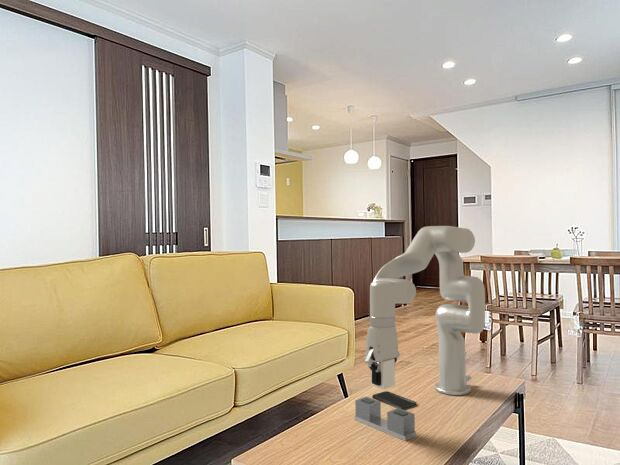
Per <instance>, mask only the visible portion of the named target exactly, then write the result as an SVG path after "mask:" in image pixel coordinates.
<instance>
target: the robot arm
mask: <svg viewBox="0 0 620 465" xmlns="http://www.w3.org/2000/svg"><path fill="white" fill-rule="evenodd" d="M475 238H476V237H475V234H474V233H473V231H471V230H470V229H468V228H467V227H466V228H464V227H458V226H452V225H430V226H429V225H428V226H423V227H421V228H420V229H419V230H418V231H417V233H416V234H415V236H414V237H413V239H412V241H411V242H410V243H409V245H408V247H407V248H406V250H405V251H404V252H403V253H402V254H400V255H398V256H396V257H395V258H393V259H392V260H390V261H388V262H387V263H385V264H383V266H382V267H380V269H379V270H378V272H377V273H376V275H375V277H374V278H373V279H372V282H370V285H369V327H368V328H367V332H366V338H365V341H366V342H365V360H364V363H365V365H366V366H368V368H369V370H370V372H371V371H372V384H375V385H378V386H380V385H381V372H379V371H380V365H381V362H382V361H385V360H389V359H395V364H396V363H397V362H398V359H399V357H400V356H401V355H400V351H399V344H398V343H399V342H398V331H397V327H396V304H408V303H410V302H412V301H413V300H414V299H415V297H416V295H417V289H416V286H415V284H414V283H413V282H412V281H411V280H409V279H405V278H403V279H402V277H405V276H409V275H413V274H416V273H419V272H421V271H423V270H425V269H426V268H427V267H428V266H429V264H430V261H431V260H432V258H433V257H434V255H435V257H436V258H437V260H438V264H439V267H438V268H439V293H440V294H439V295H440V296H441V298H442V299H444V300H446V301H451V302H459V303H466V304H467V305H461V304H454V303H453V304H452V303H444V304H441V305H439V306H437V307H438V308H436V311H435V322H436V327H437V334H438V382H437V383H435V384H434V389H435V390H436V392H439V393H441V394H445V395H448V396H449V395H452V396H464V395H467V394H470V392H471V387H470V386H469V385H468V384H467V382H468V381H471V380H472V376H471V375H470V374H468V375H467V374H466V372H467V371H466V370H467V369H466V366H467V365H466V364H467V360H466V340H465V338H464V336H463V335H462V333H467V334H480V333H482V332H483V331H484V329H485V323H486V289H485V284H484V283H483V280H482V279H481V278H479V277H477V276H475V275H464V262H463V258H462V257H461V255H460V253H462V254H463V253H465V254H466V253H469V252H471V251H472V250H473V249H474V247H475V243H476V239H475ZM371 360H372V361H371ZM375 363H377V365H376V366H375Z"/></svg>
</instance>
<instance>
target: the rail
mask: <svg viewBox="0 0 620 465" xmlns="http://www.w3.org/2000/svg"><path fill="white" fill-rule="evenodd" d="M381 403H382V402H381V401H378V400H376V399H373V398H372V397H369V396H364V397H361V398H359V399H355V404H354V405H355V415H354V420H355V421H357V422H360V423H362V424H364V425H366V426H368V427H371V428H373V429H376V430H378V431H381V432H384V433H385V434H388V435H390V436H391V437H394V438H397V439H400V440H402V441H404V442H406V441H408V440H411V439H413V438H414V437H416V436H417V431H416V421H415V420H416V417H415V412H414V413H413V412H411V411H408V410H406V409H405V410H402V409H400V408H395V409H392V410H390V411H388V412H386V413H387V414H386V418H387V419H385V418H383V417H382V415H381V414H382V408H381Z"/></svg>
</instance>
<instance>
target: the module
mask: <svg viewBox="0 0 620 465" xmlns="http://www.w3.org/2000/svg"><path fill="white" fill-rule="evenodd" d="M371 361H372V360H371ZM376 365H377V363H375V366H376ZM395 370H396V363H395V359H389V360H385V361H382V362H381V365H380V371H379V372H381V385H380V386H378V385H375V384H372V371H371V370H370V383H371V384H370V385H371V386H373V387H376V388H379V389H381V390H385V389H389V388H392V387H393V388H394V387H395V385H396V384H395V383H396V382H395V381H396V379H395V377H396V371H395Z"/></svg>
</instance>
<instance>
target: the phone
mask: <svg viewBox="0 0 620 465" xmlns="http://www.w3.org/2000/svg"><path fill="white" fill-rule="evenodd" d="M371 398H372V399H375V400H377V401H380V402H381V403H383V404H385V405H389V407H393V408H395V409H397V408H400V409H402V410H405V411H406V410H408V409H411V408H414V407H416V406H418V403H417V401H414V400H411V399H409V398H406V397H405V396H401V395H398V394H397V393H393V392H391V391H388V390H386V391H381V392H379V393H375V394H373V395H372V397H371Z"/></svg>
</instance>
